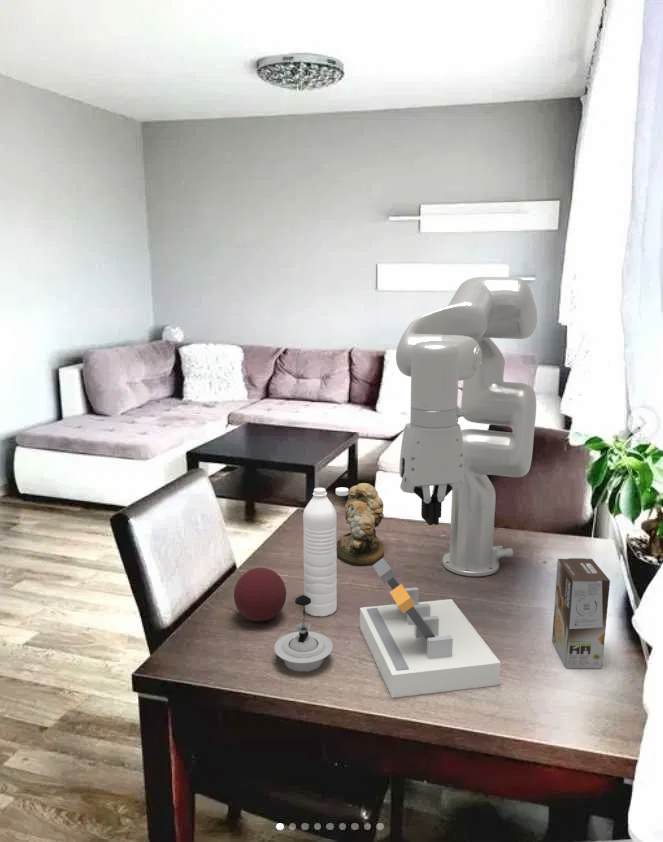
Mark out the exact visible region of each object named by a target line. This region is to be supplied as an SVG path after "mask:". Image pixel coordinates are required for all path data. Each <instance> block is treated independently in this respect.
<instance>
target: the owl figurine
mask: <svg viewBox="0 0 663 842" xmlns="http://www.w3.org/2000/svg"><path fill="white" fill-rule="evenodd" d="M344 505H345V506H344V514H345V515H344V518H345V521H346V524H349V529H350V532H348V533H346V534H344V535H342V536H340V537H339V538H338V540H336V541H337V544H336V545H337V548H336V550H337V559H339V560H340V561H341V562H343V563H345V564H349V565H350V564H351V565H350V566H354V565H355V566H354V567H357V566H359V567H369V566H373V565H374V564H375V563H376V562H378V561H379V560H381V559H382V558H384V555H385V547H384V545H383V543H382V542H381V540H379V539H380V538H379V537H378V536H377V534H376V533H377V531H376V528H377V527H379V525H380V524H381V522H382V520H383V519H384V517H385V515H384V513H383V512H384V502H383V499H382V498H381V497H379V493H378V491H377V489H376V487H375V486H373V485H371V483H367V482H361V483H358V484H357V485H353V486H351V487H350V488H349V494H348V499H347V500H346V503H345V504H344Z"/></svg>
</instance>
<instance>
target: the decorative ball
mask: <svg viewBox="0 0 663 842" xmlns="http://www.w3.org/2000/svg"><path fill="white" fill-rule="evenodd" d="M233 598H234V599H233V601H234V604H235V607H236V609H237V610H238V611H239V613H240V614H241V615H242V616H243V617H245V618H246V619H248V620H250V621H252V622H266V621H269V620H271V619H272V618H275V617H276V616H277V615H278V614H280V612H281V611H282V609H283V608H284V606H285V603H286V600H287V587H286V585H285V583H284V581H283V579H282V577H281V576H280V575H279V574H278V573H277V572H275V571H274V570H272V569H270V568H265V567H255V568H252V569H249V570H247V571H246V572H244V573H243V574H242V575H240V577H239V579H238V580H237V582H236V584H235V586H234V590H233Z"/></svg>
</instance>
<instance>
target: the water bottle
mask: <svg viewBox="0 0 663 842" xmlns="http://www.w3.org/2000/svg"><path fill="white" fill-rule="evenodd" d="M349 491H350V488H348V487H342V486H341V487H336V488H335V495H337V496H339V497H345V496H349ZM327 494H328V492H327V490H326V488H325V487H315V488H314V489H313V493H312V495H313V496H312V497H311V499H310V501H309V502H308V503H307V504H306V506H305V507H304V510H303V512H302V513H303V515H302V521H303V527H302V528H303V595H304V596H307V597H309V598H310V599H311V603H310V604H308V605H304V613H305V614H308V615H310V616H311V617H328V616H331V615H333V614H334V613H335V612H336V611H337V608H338V607H337V606H338V600H337V594H338V593H337V592H338V591H337V590H338V589H337V585H338V584H337V583H338V582H337V579H338V578H337V577H338V573H337V567H338V566H337V565H338V564H337V562H338V561H337V559H338V557H337V550H336V548H337V545H336V544H337V541H338V540H337V534H338V533H337V532H338V531H337V530H338V529H337V527H338V526H337V524H338V523H337V521H338V517H337V516H338V515H337V510H336V508H335V506H334V505H333V503H332V502H331V500H329V498H328V496H327Z"/></svg>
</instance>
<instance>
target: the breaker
mask: <svg viewBox="0 0 663 842" xmlns="http://www.w3.org/2000/svg"><path fill="white" fill-rule="evenodd" d="M372 567H373V569H374V570H375V572H376V573H377V575H378V577H379V579H380V580H381V581H382V582H383V584H384V585H385V584H386V583H387V584H388V585H389V587H390V588H391V589H392V590H393V589H395V588H396V587H397V586H399V585H400V584H401V583H399V581H398V580H397V578H396V574H395V573H394V571H393V569H392V568H391V566H390V564H388V562H387V561H386V559H385V558H384V557H383V558H382V559H381V560H379V561H378V562H376V563H375V564H374V565H372Z"/></svg>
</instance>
